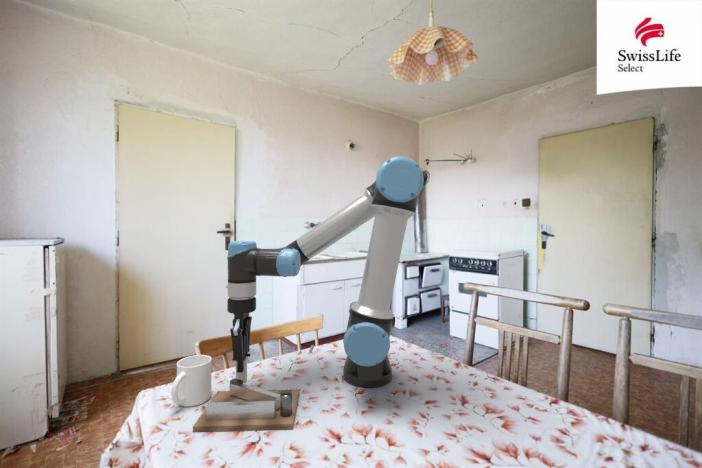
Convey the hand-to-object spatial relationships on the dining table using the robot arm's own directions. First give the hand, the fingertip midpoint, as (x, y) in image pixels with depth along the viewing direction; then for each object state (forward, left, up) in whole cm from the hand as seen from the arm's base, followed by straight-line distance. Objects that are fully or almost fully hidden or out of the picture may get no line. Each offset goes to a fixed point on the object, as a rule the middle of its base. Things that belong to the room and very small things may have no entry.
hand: (241, 381), depth 91 cm
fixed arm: (-6, +14, -2) cm, 15 cm away
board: (-5, +10, -3) cm, 11 cm away
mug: (+12, +5, -3) cm, 13 cm away
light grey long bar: (-5, +7, -1) cm, 9 cm away
